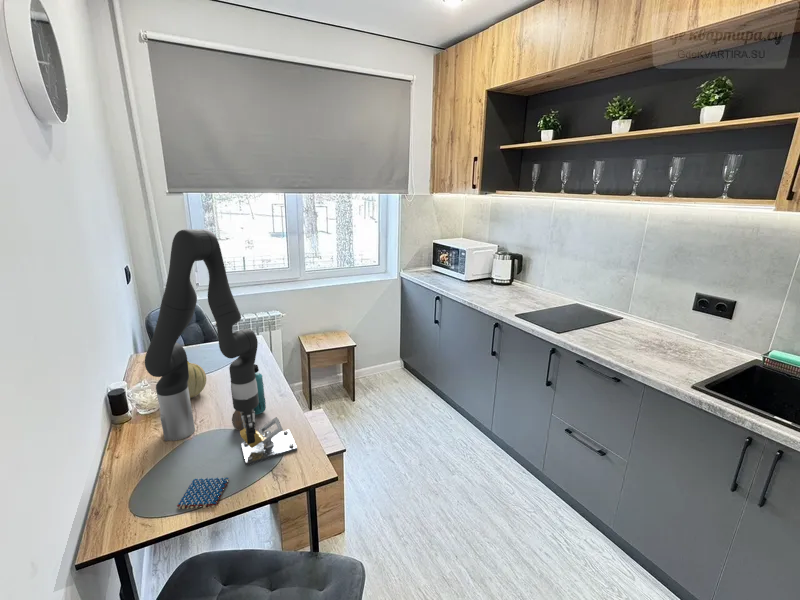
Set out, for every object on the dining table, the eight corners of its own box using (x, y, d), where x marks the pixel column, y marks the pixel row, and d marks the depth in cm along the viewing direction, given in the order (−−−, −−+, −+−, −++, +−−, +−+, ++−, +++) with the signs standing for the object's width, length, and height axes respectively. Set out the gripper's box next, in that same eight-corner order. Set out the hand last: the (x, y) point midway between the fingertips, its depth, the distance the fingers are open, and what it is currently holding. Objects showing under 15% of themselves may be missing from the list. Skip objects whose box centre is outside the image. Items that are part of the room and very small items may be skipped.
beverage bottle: (260, 419, 143) (255, 370, 137) (244, 417, 144) (239, 369, 139) (269, 409, 149) (265, 363, 144) (254, 407, 150) (249, 361, 145)
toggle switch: (245, 465, 119) (243, 449, 117) (241, 445, 128) (239, 430, 127) (297, 450, 127) (296, 434, 125) (289, 432, 136) (288, 417, 134)
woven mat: (193, 482, 113) (192, 477, 112) (230, 481, 114) (229, 475, 113) (175, 511, 103) (174, 505, 102) (216, 509, 104) (215, 503, 103)
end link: (252, 452, 121) (241, 440, 119) (249, 439, 127) (238, 428, 124) (283, 430, 125) (273, 417, 122) (278, 419, 130) (268, 407, 128)
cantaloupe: (165, 409, 149) (159, 374, 144) (170, 391, 161) (164, 359, 157) (208, 401, 154) (203, 367, 150) (209, 384, 167) (204, 353, 163)
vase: (233, 435, 134) (231, 413, 131) (232, 424, 140) (229, 403, 137) (254, 430, 137) (252, 408, 134) (252, 420, 143) (249, 399, 140)
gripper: (229, 385, 123) (235, 431, 128) (234, 406, 111) (241, 456, 116) (253, 379, 126) (259, 425, 131) (261, 399, 115) (266, 448, 119)
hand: (250, 439), depth 124 cm, fingers closed on end link, 3 cm apart
